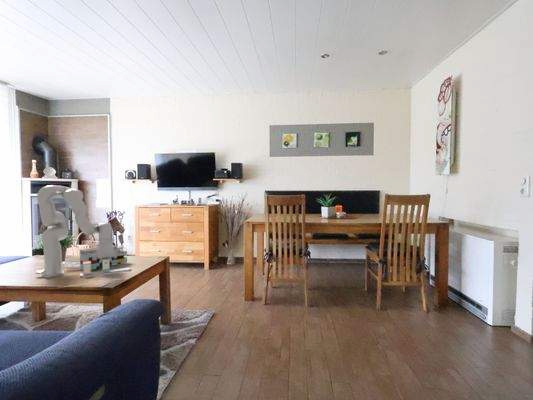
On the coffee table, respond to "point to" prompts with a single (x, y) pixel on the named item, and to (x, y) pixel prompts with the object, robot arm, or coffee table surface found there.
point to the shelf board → (106, 272)
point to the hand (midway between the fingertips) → (105, 267)
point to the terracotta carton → (87, 268)
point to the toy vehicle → (90, 254)
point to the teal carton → (105, 264)
